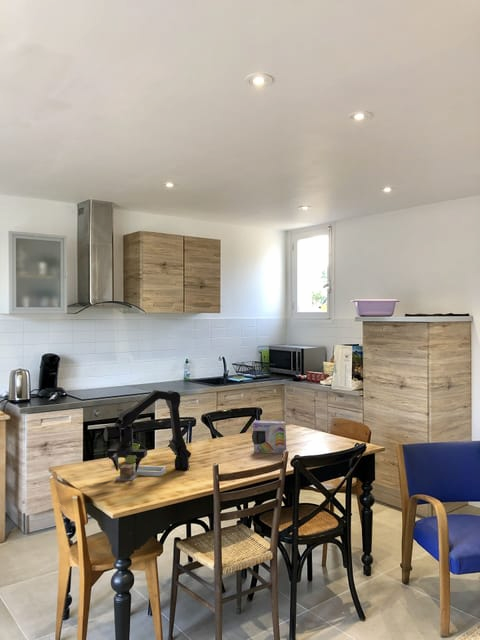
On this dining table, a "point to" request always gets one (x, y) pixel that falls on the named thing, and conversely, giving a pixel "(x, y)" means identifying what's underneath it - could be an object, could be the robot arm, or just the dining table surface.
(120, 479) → the slate coaster
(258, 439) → the cake pan box
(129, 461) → the plant pot
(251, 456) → the dining table surface
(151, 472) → the channel
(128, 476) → the walnut block
